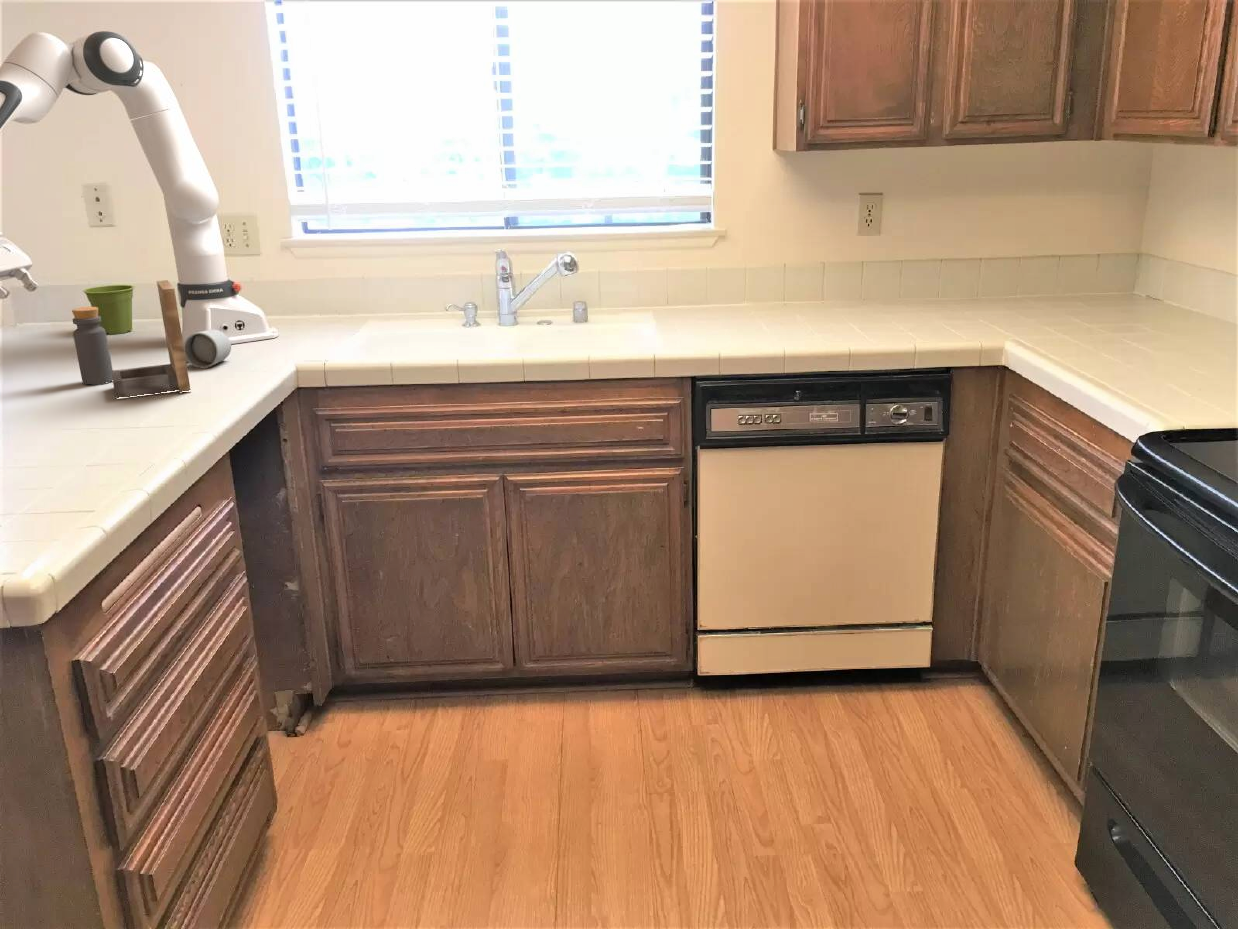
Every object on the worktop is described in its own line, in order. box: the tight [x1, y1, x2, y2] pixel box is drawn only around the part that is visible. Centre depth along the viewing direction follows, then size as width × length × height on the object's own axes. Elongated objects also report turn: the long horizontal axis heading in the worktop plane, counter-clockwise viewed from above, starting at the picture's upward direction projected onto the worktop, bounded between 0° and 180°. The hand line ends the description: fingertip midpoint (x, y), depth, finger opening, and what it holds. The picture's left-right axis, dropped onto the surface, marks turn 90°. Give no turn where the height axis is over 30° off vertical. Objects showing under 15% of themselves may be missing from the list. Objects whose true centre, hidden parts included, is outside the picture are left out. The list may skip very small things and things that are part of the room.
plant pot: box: [82, 284, 135, 335], centre depth 256 cm, size 12×12×11 cm
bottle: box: [71, 306, 114, 385], centre depth 202 cm, size 6×6×15 cm
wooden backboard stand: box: [111, 279, 192, 399], centre depth 195 cm, size 13×14×20 cm
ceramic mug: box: [183, 330, 232, 369], centre depth 218 cm, size 11×8×8 cm
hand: (20, 292), depth 199 cm, fingers open, 8 cm apart
